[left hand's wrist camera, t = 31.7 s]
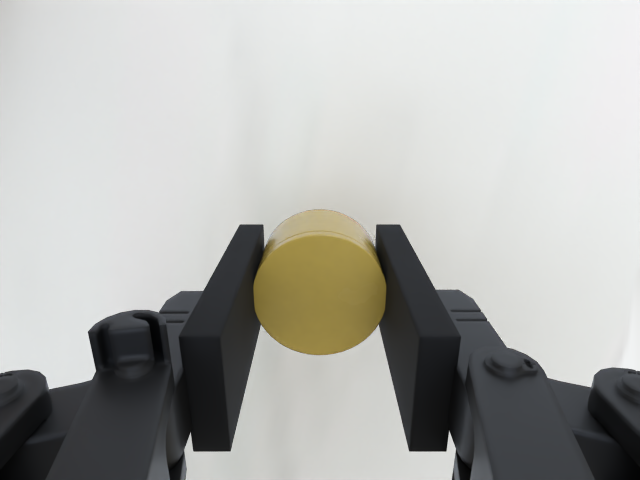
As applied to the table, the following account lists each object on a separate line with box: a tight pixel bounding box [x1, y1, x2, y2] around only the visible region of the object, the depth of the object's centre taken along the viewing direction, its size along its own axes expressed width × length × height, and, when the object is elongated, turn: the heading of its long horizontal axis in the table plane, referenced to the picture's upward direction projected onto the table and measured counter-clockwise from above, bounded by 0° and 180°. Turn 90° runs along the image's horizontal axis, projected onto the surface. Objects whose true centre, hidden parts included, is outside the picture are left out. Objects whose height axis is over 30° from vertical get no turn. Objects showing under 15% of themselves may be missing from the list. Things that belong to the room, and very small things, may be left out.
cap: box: [253, 210, 386, 355], centre depth 13 cm, size 4×4×2 cm
